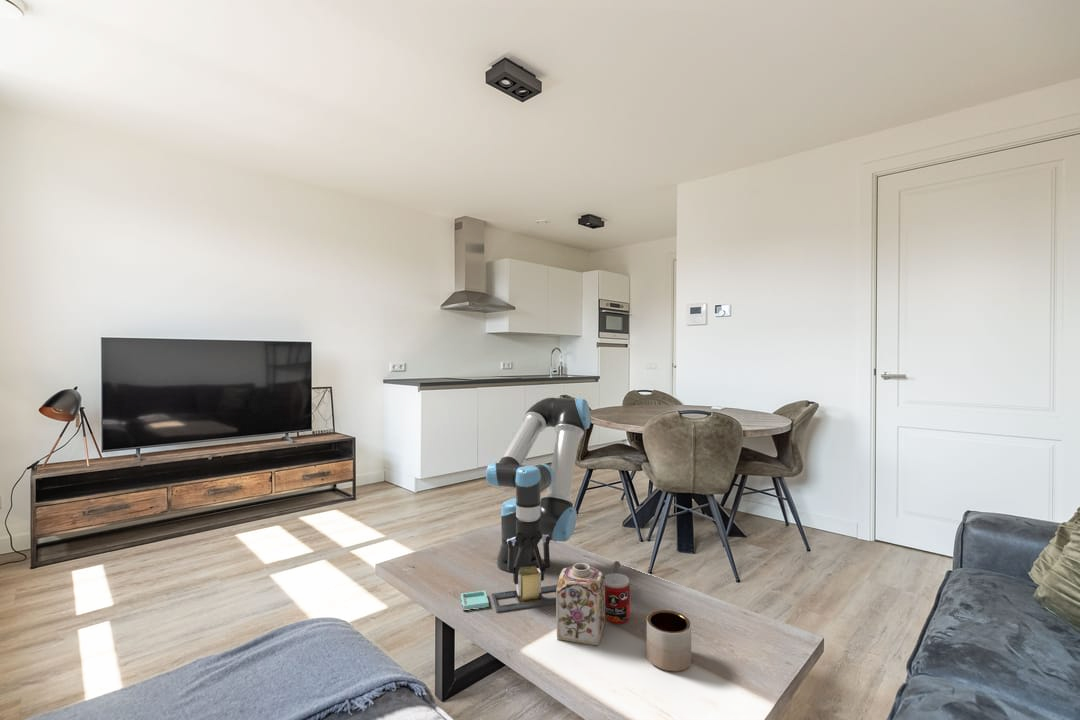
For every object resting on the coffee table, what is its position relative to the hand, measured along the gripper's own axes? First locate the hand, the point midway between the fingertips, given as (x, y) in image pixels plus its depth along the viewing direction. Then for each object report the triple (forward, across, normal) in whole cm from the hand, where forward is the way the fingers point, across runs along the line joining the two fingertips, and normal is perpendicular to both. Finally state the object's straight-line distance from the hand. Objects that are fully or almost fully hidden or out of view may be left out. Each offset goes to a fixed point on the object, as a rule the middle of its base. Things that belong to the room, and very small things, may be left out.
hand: (528, 592), depth 150 cm
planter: (+3, -27, +37) cm, 46 cm away
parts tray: (+2, +16, -2) cm, 17 cm away
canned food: (+3, -22, +16) cm, 27 cm away
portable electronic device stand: (+3, -26, +2) cm, 26 cm away
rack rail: (+2, 0, 0) cm, 2 cm away
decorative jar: (+3, -10, +20) cm, 23 cm away
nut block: (+2, 0, 0) cm, 2 cm away
